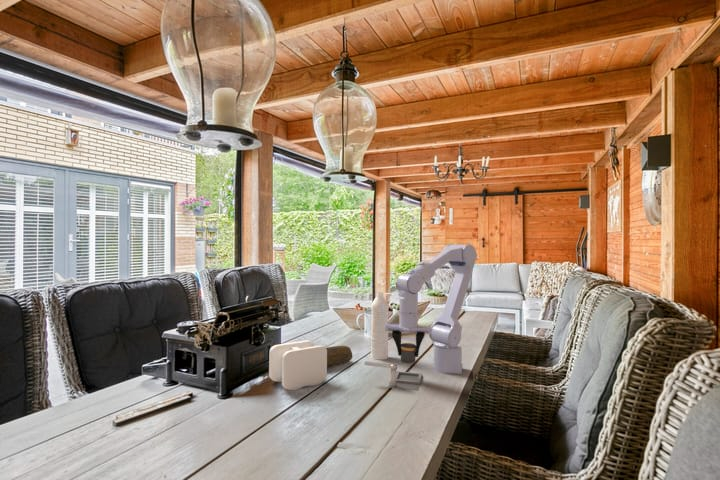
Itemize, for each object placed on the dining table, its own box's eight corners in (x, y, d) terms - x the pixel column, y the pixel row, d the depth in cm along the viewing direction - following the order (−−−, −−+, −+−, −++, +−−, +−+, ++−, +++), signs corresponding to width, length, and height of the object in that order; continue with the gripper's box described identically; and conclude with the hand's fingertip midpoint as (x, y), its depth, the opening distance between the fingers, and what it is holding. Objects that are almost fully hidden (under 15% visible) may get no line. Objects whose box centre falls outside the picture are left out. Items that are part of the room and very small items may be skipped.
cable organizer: (281, 394, 107) (281, 353, 107) (268, 382, 116) (268, 344, 116) (327, 383, 115) (327, 345, 116) (311, 373, 124) (312, 338, 124)
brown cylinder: (320, 373, 124) (320, 353, 125) (308, 367, 130) (308, 348, 130) (354, 363, 134) (354, 345, 134) (342, 359, 140) (342, 341, 140)
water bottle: (367, 358, 140) (367, 291, 140) (379, 355, 144) (380, 290, 144) (383, 364, 133) (384, 294, 134) (396, 360, 138) (396, 293, 138)
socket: (422, 376, 122) (422, 358, 122) (418, 393, 108) (418, 372, 108) (394, 373, 124) (394, 356, 124) (387, 390, 110) (387, 370, 110)
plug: (410, 357, 121) (410, 342, 121) (418, 362, 116) (419, 346, 116) (397, 359, 119) (397, 343, 119) (405, 364, 114) (405, 347, 114)
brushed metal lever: (397, 367, 112) (397, 364, 112) (396, 369, 110) (396, 366, 110) (366, 363, 115) (366, 360, 115) (364, 365, 114) (364, 362, 114)
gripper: (383, 313, 115) (383, 357, 115) (431, 315, 112) (431, 361, 112) (387, 309, 122) (387, 350, 122) (432, 311, 119) (432, 354, 119)
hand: (408, 355), depth 118 cm, fingers closed on plug, 5 cm apart
